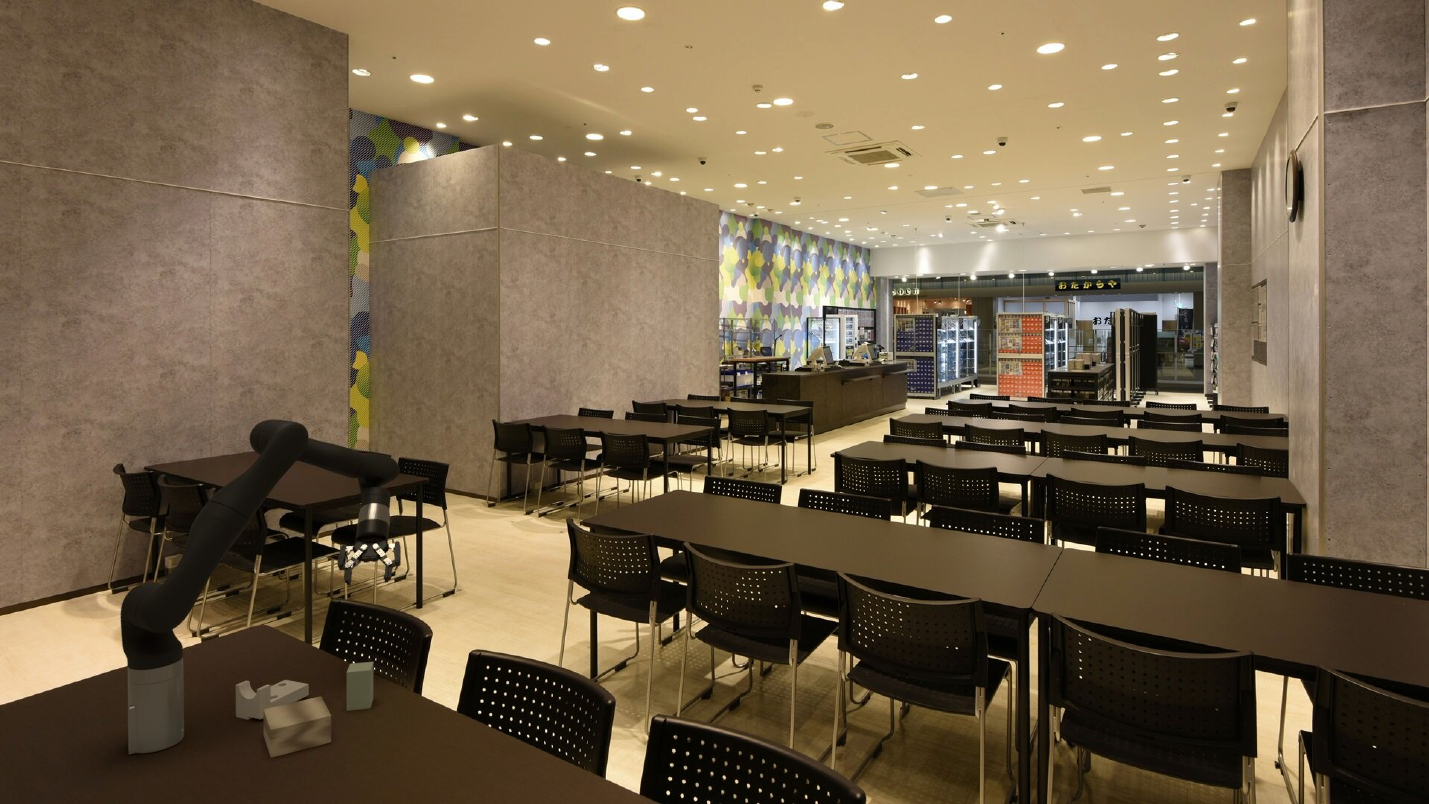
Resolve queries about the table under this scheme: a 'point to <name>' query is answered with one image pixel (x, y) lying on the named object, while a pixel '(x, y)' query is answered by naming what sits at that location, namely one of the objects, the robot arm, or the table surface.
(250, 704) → the bracket
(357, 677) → the green prism
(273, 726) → the birch block
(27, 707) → the table surface
